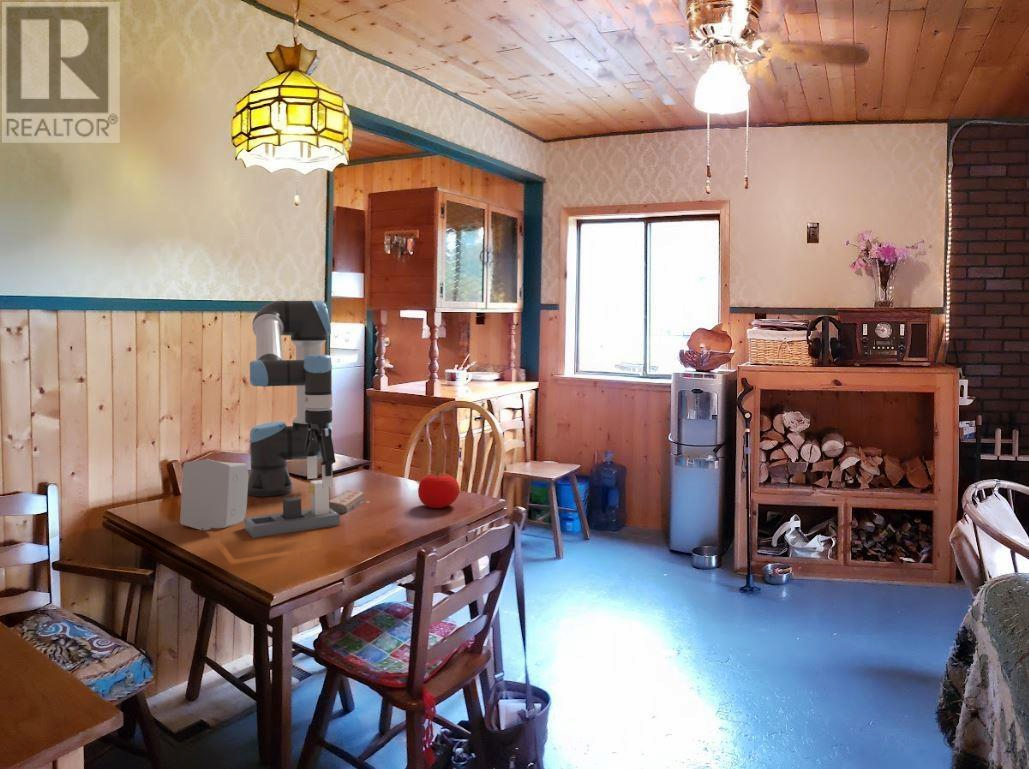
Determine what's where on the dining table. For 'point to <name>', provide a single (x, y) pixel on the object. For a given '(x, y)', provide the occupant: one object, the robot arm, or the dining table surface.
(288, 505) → the dark grey block
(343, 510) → the packaged product
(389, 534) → the dining table surface
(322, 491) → the plug
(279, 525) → the socket strip
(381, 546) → the dining table surface
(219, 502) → the electrical switch box
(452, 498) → the tomato
